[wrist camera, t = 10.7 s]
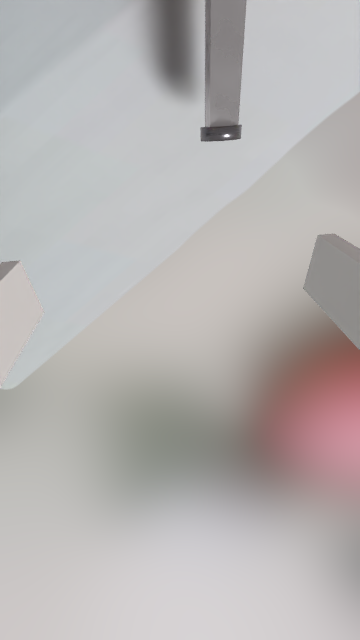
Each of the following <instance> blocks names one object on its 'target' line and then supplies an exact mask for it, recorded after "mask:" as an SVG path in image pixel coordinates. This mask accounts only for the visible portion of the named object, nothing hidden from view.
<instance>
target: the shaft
mask: <svg viewBox="0 0 360 640" xmlns="http://www.w3.org/2000/svg"><path fill="white" fill-rule="evenodd" d="M245 14H246V0H205V127H201V141H225V140H236V139H241V127H242V125H238V121H239V105H240V90H241V75H242V59H243V44H244V29H245Z"/></svg>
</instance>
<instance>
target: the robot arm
mask: <svg viewBox="0 0 360 640" xmlns="http://www.w3.org/2000/svg"><path fill="white" fill-rule="evenodd" d="M303 289H304V290H305V291H306V292H307V293H308V294H309V295H310V296H311V298H312V299H313V300H314V301H315V302H316V303H317V304H318V305H319V306H320V307H321V308H322V310H323V311H324V312H325V313H326V314H327V315H328V316H329V317H330V318H331V319H332V320H333V322H334V323H335V324H336V325H337V326H338V327H339V328H340V329H341V330H342V331H343V332H344V333H345V335H346V336H347V337H348V338H349V339H350V340H351V341H352V342H353V343H354V344H355V345H356V347H357V348H358V349H359V350H360V249H359V248H357V247H356V246H354V245H352V244H351V243H349V242H347V241H346V240H344V239H342V238H340V237H339V236H337V235H336V234H325V235H318V236H317V240H316V243H315V247H314V251H313V255H312V258H311V262H310V265H309V269H308V273H307V276H306V280H305V284H304V287H303ZM43 314H44V310H43V308H42V306H41V304H40V302H39V300H38V298H37V295H36V293H35V291H34V289H33V287H32V285H31V282H30V280H29V278H28V276H27V274H26V272H25V270H24V267H23V265H22V263H21V261H10V262H2V263H1V264H0V388H1V386H2V384H3V383H4V381H5V379H6V377H7V376H8V374H9V372H10V371H11V369H12V367H13V365H14V364H15V362H16V360H17V359H18V357H19V355H20V353H21V352H22V350H23V348H24V347H25V345H26V343H27V341H28V340H29V338H30V336H31V335H32V333H33V331H34V329H35V328H36V326H37V324H38V323H39V321H40V319H41V317H42V316H43Z"/></svg>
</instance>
